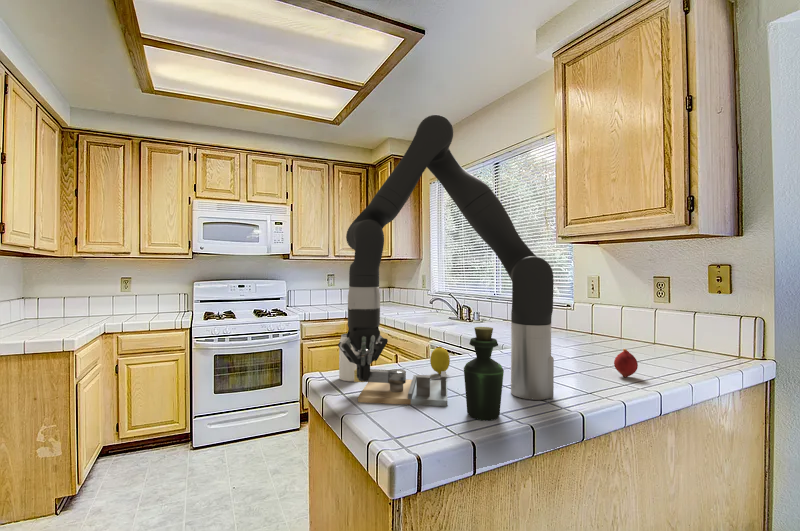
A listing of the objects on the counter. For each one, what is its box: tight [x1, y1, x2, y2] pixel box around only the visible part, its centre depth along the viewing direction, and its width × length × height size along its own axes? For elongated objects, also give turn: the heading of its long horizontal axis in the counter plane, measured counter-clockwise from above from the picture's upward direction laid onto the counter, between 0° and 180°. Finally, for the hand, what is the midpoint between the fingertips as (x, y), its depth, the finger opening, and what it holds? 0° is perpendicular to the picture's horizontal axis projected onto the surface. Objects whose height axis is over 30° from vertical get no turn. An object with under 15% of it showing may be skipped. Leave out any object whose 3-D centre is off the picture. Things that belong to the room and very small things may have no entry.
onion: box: [613, 348, 639, 378], centre depth 116 cm, size 6×6×8 cm
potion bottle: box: [463, 326, 505, 422], centre depth 85 cm, size 8×8×18 cm
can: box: [338, 332, 357, 383], centre depth 112 cm, size 6×6×12 cm
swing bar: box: [354, 368, 407, 385], centre depth 98 cm, size 12×4×3 cm, turn 82°
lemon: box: [429, 345, 451, 375], centre depth 118 cm, size 6×6×8 cm
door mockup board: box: [357, 370, 448, 407], centre depth 100 cm, size 20×16×6 cm
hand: (363, 380), depth 96 cm, fingers closed
